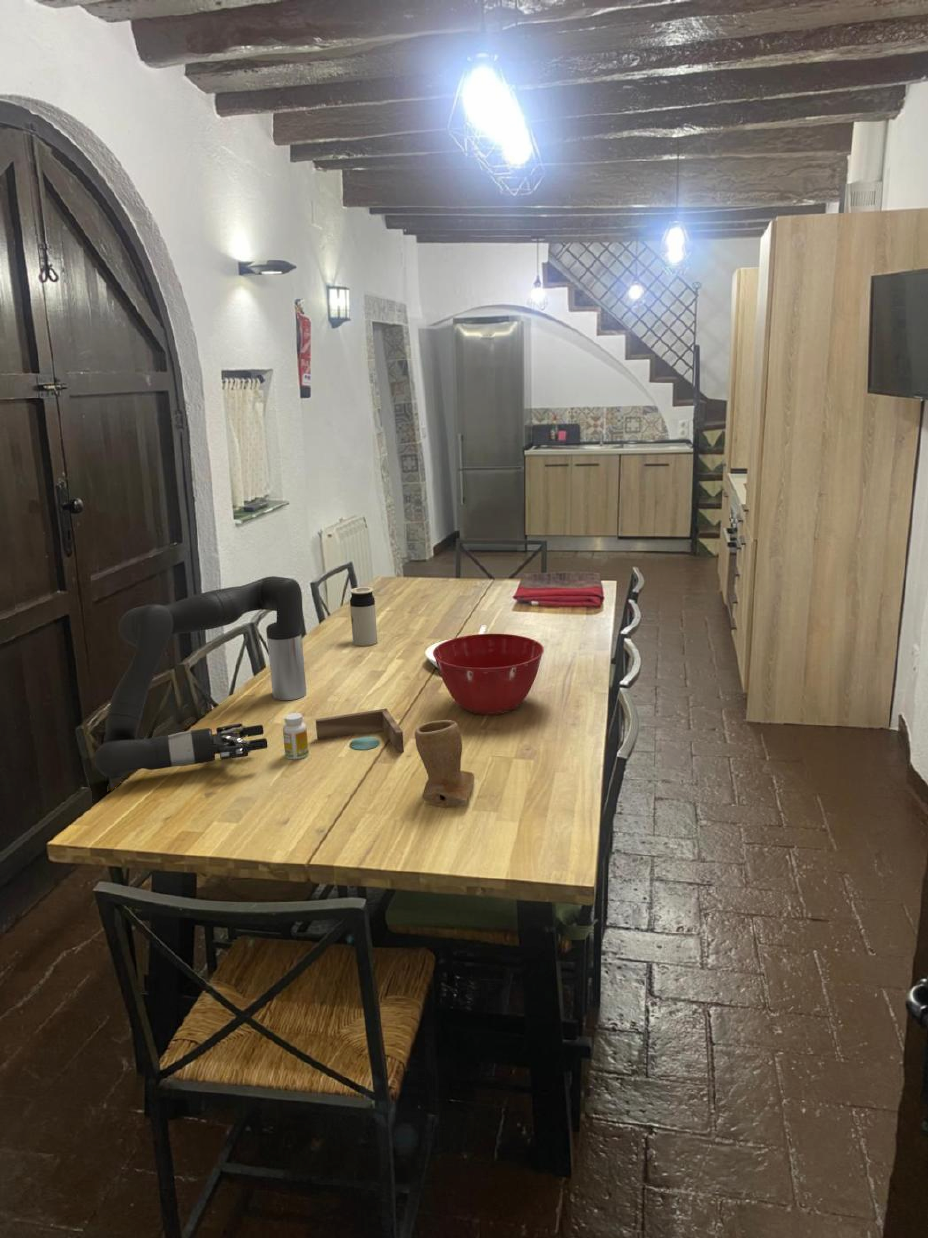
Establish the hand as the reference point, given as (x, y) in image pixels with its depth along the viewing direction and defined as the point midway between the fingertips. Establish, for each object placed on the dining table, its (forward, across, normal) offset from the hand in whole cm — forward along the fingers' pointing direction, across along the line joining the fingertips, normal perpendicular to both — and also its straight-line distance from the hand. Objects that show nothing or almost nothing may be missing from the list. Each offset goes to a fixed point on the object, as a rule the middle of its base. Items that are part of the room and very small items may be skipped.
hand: (265, 736), depth 204 cm
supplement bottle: (+7, 0, +6) cm, 9 cm away
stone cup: (+33, -32, +6) cm, 46 cm away
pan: (+70, +55, +7) cm, 89 cm away
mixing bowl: (+59, +12, +6) cm, 60 cm away
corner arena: (+21, 0, +6) cm, 22 cm away
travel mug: (+41, +82, +6) cm, 92 cm away
